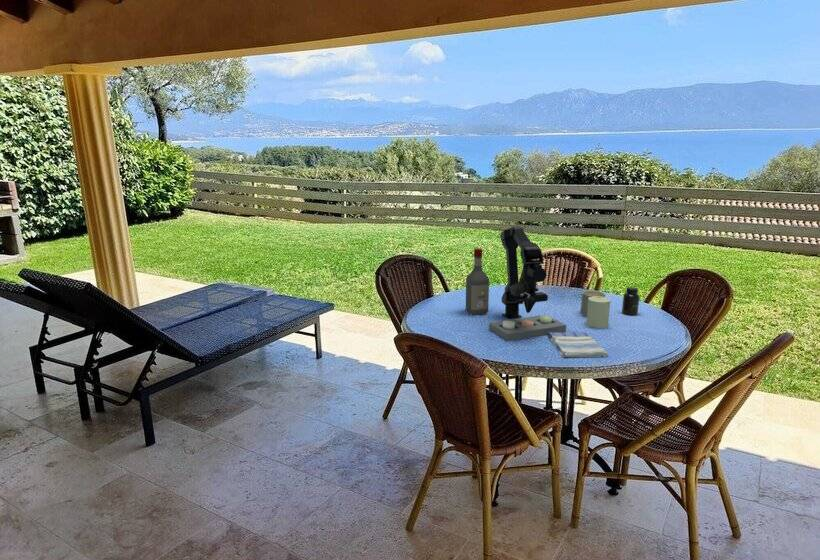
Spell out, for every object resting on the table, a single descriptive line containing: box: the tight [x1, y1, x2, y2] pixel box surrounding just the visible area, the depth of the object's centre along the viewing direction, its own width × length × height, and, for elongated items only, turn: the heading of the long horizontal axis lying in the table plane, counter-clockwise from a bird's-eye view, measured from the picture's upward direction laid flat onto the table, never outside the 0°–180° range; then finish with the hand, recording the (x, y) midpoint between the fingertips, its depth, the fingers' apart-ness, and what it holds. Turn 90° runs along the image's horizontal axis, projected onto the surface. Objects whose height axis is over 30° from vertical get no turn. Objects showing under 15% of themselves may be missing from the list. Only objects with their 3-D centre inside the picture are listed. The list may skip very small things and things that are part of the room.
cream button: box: [502, 319, 515, 330], centre depth 218 cm, size 5×5×3 cm
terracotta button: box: [521, 320, 534, 327], centre depth 221 cm, size 5×5×3 cm
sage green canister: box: [585, 296, 612, 329], centre depth 227 cm, size 9×9×12 cm
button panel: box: [488, 314, 567, 342], centre depth 221 cm, size 15×28×3 cm, turn 110°
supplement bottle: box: [621, 286, 640, 316], centre depth 241 cm, size 7×7×12 cm
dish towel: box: [547, 331, 609, 358], centre depth 204 cm, size 17×24×3 cm
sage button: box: [540, 314, 553, 324], centre depth 224 cm, size 5×5×3 cm
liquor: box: [465, 248, 490, 316], centre depth 243 cm, size 9×9×30 cm
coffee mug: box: [580, 289, 606, 318], centre depth 242 cm, size 13×10×10 cm
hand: (528, 312), depth 220 cm, fingers closed
